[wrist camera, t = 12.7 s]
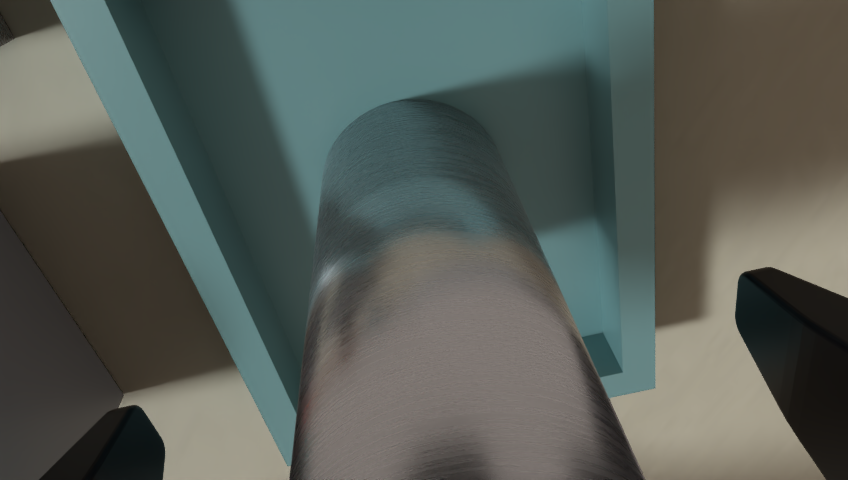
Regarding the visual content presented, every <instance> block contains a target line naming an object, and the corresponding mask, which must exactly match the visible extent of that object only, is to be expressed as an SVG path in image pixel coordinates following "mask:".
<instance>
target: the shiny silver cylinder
mask: <svg viewBox="0 0 848 480" xmlns="http://www.w3.org/2000/svg"><path fill="white" fill-rule="evenodd" d="M289 480H645V477H644V475H643V473H642V471H641V469H640V466H639V464H638V462H637V460H636V457H635V455H634V453H633V451H632V448H631V446H630V444H629V442H628V440H627V437H626V435H625V433H624V431H623V428H622V426H621V424H620V422H619V419H618V417H617V415H616V413H615V411H614V408H613V406H612V404H611V402H610V399H609V397H608V395H607V393H606V390H605V388H604V386H603V384H602V382H601V379H600V377H599V375H598V373H597V370H596V368H595V366H594V364H593V361H592V359H591V357H590V355H589V352H588V350H587V348H586V346H585V344H584V341H583V339H582V337H581V335H580V332H579V330H578V328H577V326H576V323H575V321H574V319H573V317H572V315H571V312H570V310H569V308H568V306H567V303H566V301H565V299H564V297H563V294H562V292H561V290H560V288H559V286H558V283H557V281H556V279H555V277H554V274H553V272H552V270H551V268H550V265H549V263H548V261H547V259H546V256H545V254H544V252H543V250H542V248H541V245H540V243H539V241H538V239H537V236H536V234H535V232H534V230H533V227H532V225H531V223H530V221H529V219H528V216H527V214H526V212H525V210H524V207H523V205H522V203H521V201H520V198H519V196H518V194H517V192H516V190H515V187H514V185H513V183H512V181H511V178H510V176H509V174H508V172H507V169H506V167H505V165H504V163H503V161H502V158H501V156H500V154H499V152H498V149H497V147H496V145H495V143H494V142H493V140H492V138H491V136H490V135H489V134H488V133H487V131H486V130H485V129H484V128H483V127H482V126H481V125H480V124H479V123H478V122H477V121H476V120H475V119H474V118H472V117H471V116H469V115H468V114H467V113H465V112H463V111H461V110H459V109H457V108H455V107H453V106H450V105H447V104H445V103H441V102H437V101H432V100H422V99H410V100H400V101H395V102H390V103H387V104H384V105H381V106H378V107H376V108H374V109H372V110H369V111H367V112H366V113H364V114H363V115H361V116H359V117H358V118H357V119H355V120H354V121H353V122H352V123H350V124H349V125H348V126H347V127H346V128H345V129H344V130H343V131H342V133H341V134H340V135H339V136H338V138H337V139H336V141H335V142H334V143H333V145H332V147H331V149H330V151H329V153H328V156H327V159H326V161H325V164H324V170H323V175H322V185H321V194H320V203H319V212H318V221H317V231H316V240H315V249H314V258H313V267H312V277H311V286H310V295H309V304H308V313H307V323H306V332H305V341H304V350H303V359H302V369H301V378H300V387H299V396H298V405H297V415H296V424H295V433H294V442H293V451H292V461H291V470H290V479H289Z"/></svg>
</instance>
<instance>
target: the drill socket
mask: <svg viewBox="0 0 848 480" xmlns="http://www.w3.org/2000/svg"><path fill="white" fill-rule="evenodd" d="M13 39H14V37H13V35H12V33H11V31H10V30H9V28H8V26H7V24H6V22H5V21H4V19H3V17H2V15H1V14H0V46H2V45H4V44H6V43H7V42H9V41H11V40H13Z"/></svg>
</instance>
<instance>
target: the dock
mask: <svg viewBox="0 0 848 480" xmlns="http://www.w3.org/2000/svg"><path fill="white" fill-rule="evenodd" d="M122 398H123V393H122V392H121V390H120V389H119V387H118V386H117V384H116V383H115V381H114V380H113V378H112V377H111V375H110V374H109V372H108V371H107V369H106V368H105V366H104V365H103V363H102V362H101V360H100V359H99V357H98V356H97V354H96V353H95V351H94V350H93V349H92V347H91V346H90V344H89V343H88V341H87V340H86V338H85V337H84V335H83V334H82V332H81V331H80V329H79V328H78V326H77V325H76V323H75V322H74V320H73V319H72V317H71V316H70V314H69V313H68V311H67V310H66V308H65V307H64V305H63V304H62V302H61V301H60V299H59V298H58V296H57V295H56V293H55V292H54V290H53V289H52V287H51V286H50V284H49V283H48V281H47V280H46V278H45V277H44V275H43V274H42V272H41V271H40V269H39V268H38V266H37V265H36V263H35V262H34V260H33V259H32V257H31V256H30V254H29V253H28V251H27V250H26V248H25V247H24V245H23V244H22V242H21V241H20V240H19V238H18V237H17V235H16V234H15V232H14V231H13V229H12V228H11V226H10V225H9V223H8V222H7V220H6V219H5V217H4V216H3V214H2V213H1V211H0V480H39V479H40V478H41V477H42V476H43V475H44V474H45V473H46V472H47V471H48V470H49V469H50V468H51V467H52V466H53V465H54V464H55V463H56V462H57V461H58V460H59V459H60V458H61V457H62V456H63V455H64V454H65V453H66V452H67V451H68V450H69V449H70V448H71V447H72V446H73V445H74V444H75V443H76V442H77V441H78V440H79V439H80V438H81V437H82V436H83V435H84V434H85V433H86V432H87V431H88V430H89V429H90V428H91V427H92V426H93V425H94V424H95V423H96V422H97V421H98V420H99V419H100V418H101V417H102V416H103V415H105V414H106V413H107V412H108V411H110V410H113V409H117V408H118V407H119V405H120V403H121V400H122Z"/></svg>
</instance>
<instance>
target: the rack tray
mask: <svg viewBox="0 0 848 480" xmlns="http://www.w3.org/2000/svg"><path fill="white" fill-rule="evenodd" d="M50 1H51V3H52V5H53V7H54V9H55V11H56V13H57V15H58V17H59V19H60V21H61V23H62V25H63V27H64V29H65V31H66V32H67V34H68V36H69V38H70V40H71V42H72V44H73V46H74V48H75V50H76V52H77V54H78V56H79V58H80V60H81V62H82V64H83V66H84V68H85V70H86V72H87V74H88V76H89V78H90V80H91V82H92V83H93V85H94V87H95V89H96V91H97V93H98V95H99V97H100V99H101V101H102V103H103V105H104V107H105V109H106V111H107V113H108V115H109V117H110V119H111V121H112V123H113V125H114V127H115V129H116V131H117V133H118V134H119V136H120V138H121V140H122V142H123V144H124V146H125V148H126V150H127V152H128V154H129V156H130V158H131V160H132V162H133V164H134V166H135V168H136V170H137V172H138V174H139V176H140V178H141V180H142V182H143V184H144V185H145V187H146V189H147V191H148V193H149V195H150V197H151V199H152V201H153V203H154V205H155V207H156V209H157V211H158V213H159V215H160V217H161V219H162V221H163V223H164V225H165V227H166V229H167V231H168V233H169V235H170V236H171V238H172V240H173V242H174V244H175V246H176V248H177V250H178V252H179V254H180V256H181V258H182V260H183V262H184V264H185V266H186V268H187V270H188V272H189V274H190V276H191V278H192V280H193V282H194V284H195V286H196V287H197V289H198V291H199V293H200V295H201V297H202V299H203V301H204V303H205V305H206V307H207V309H208V311H209V313H210V315H211V317H212V319H213V321H214V323H215V325H216V327H217V329H218V331H219V333H220V335H221V337H222V338H223V340H224V342H225V344H226V346H227V348H228V350H229V352H230V354H231V356H232V358H233V360H234V362H235V364H236V366H237V368H238V370H239V372H240V374H241V376H242V378H243V380H244V382H245V384H246V386H247V388H248V389H249V391H250V393H251V395H252V397H253V399H254V401H255V403H256V405H257V407H258V409H259V411H260V413H261V415H262V417H263V419H264V421H265V423H266V425H267V427H268V429H269V431H270V433H271V435H272V437H273V439H274V440H275V442H276V444H277V446H278V448H279V450H280V452H281V454H282V456H283V458H284V460H285V462H286V464H287V466H291V461H292V451H293V442H294V433H295V424H296V415H297V405H298V396H299V387H300V378H301V369H302V359H303V350H304V341H305V332H306V323H307V313H308V304H309V295H310V286H311V277H312V267H313V258H314V249H315V240H316V231H317V221H318V212H319V203H320V194H321V185H322V175H323V170H324V164H325V161H326V159H327V156H328V153H329V151H330V149H331V147H332V145H333V143H334V142H335V141H336V139H337V138H338V136H339V135H340V134H341V133H342V131H343V130H344V129H345V128H346V127H347V126H348V125H349V124H350V123H352V122H353V121H354V120H355V119H357V118H358V117H359V116H361V115H363V114H364V113H366V112H367V111H369V110H372V109H374V108H376V107H378V106H381V105H384V104H387V103H390V102H395V101H400V100H410V99H422V100H432V101H437V102H441V103H445V104H447V105H450V106H453V107H455V108H457V109H459V110H461V111H463V112H465V113H467V114H468V115H469V116H471V117H472V118H474V119H475V120H476V121H477V122H478V123H479V124H480V125H481V126H482V127H483V128H484V129H485V130H486V131H487V133H488V134H489V135H490V136H491V138H492V140H493V142H494V143H495V145H496V147H497V149H498V152H499V154H500V156H501V158H502V161H503V163H504V165H505V167H506V169H507V172H508V174H509V176H510V178H511V181H512V183H513V185H514V187H515V190H516V192H517V194H518V196H519V198H520V201H521V203H522V205H523V207H524V210H525V212H526V214H527V216H528V219H529V221H530V223H531V225H532V227H533V230H534V232H535V234H536V236H537V239H538V241H539V243H540V245H541V248H542V250H543V252H544V254H545V256H546V259H547V261H548V263H549V265H550V268H551V270H552V272H553V274H554V277H555V279H556V281H557V283H558V286H559V288H560V290H561V292H562V294H563V297H564V299H565V301H566V303H567V306H568V308H569V310H570V312H571V315H572V317H573V319H574V321H575V323H576V326H577V328H578V330H579V332H580V335H581V337H582V339H583V341H584V344H585V346H586V348H587V350H588V352H589V355H590V357H591V359H592V361H593V364H594V366H595V368H596V370H597V373H598V375H599V377H600V379H601V382H602V384H603V386H604V388H605V390H606V393H607V395H608V397H609V398H611V397H616V396H621V395H625V394H630V393H635V392H640V391H644V390H649V389H654V388H655V183H654V0H50Z"/></svg>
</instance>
